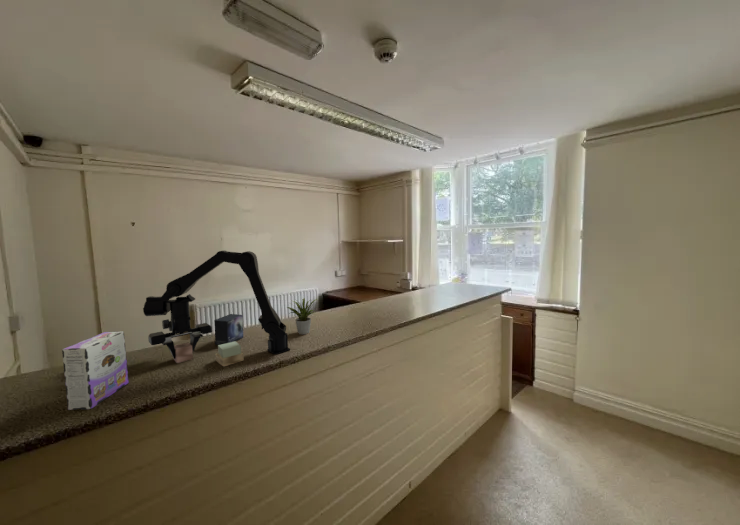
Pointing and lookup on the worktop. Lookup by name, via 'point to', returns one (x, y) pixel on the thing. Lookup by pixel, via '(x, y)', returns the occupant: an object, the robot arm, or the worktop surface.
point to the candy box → (95, 369)
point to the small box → (228, 329)
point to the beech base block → (229, 359)
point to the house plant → (302, 317)
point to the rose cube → (183, 352)
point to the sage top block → (229, 349)
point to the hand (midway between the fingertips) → (183, 356)
